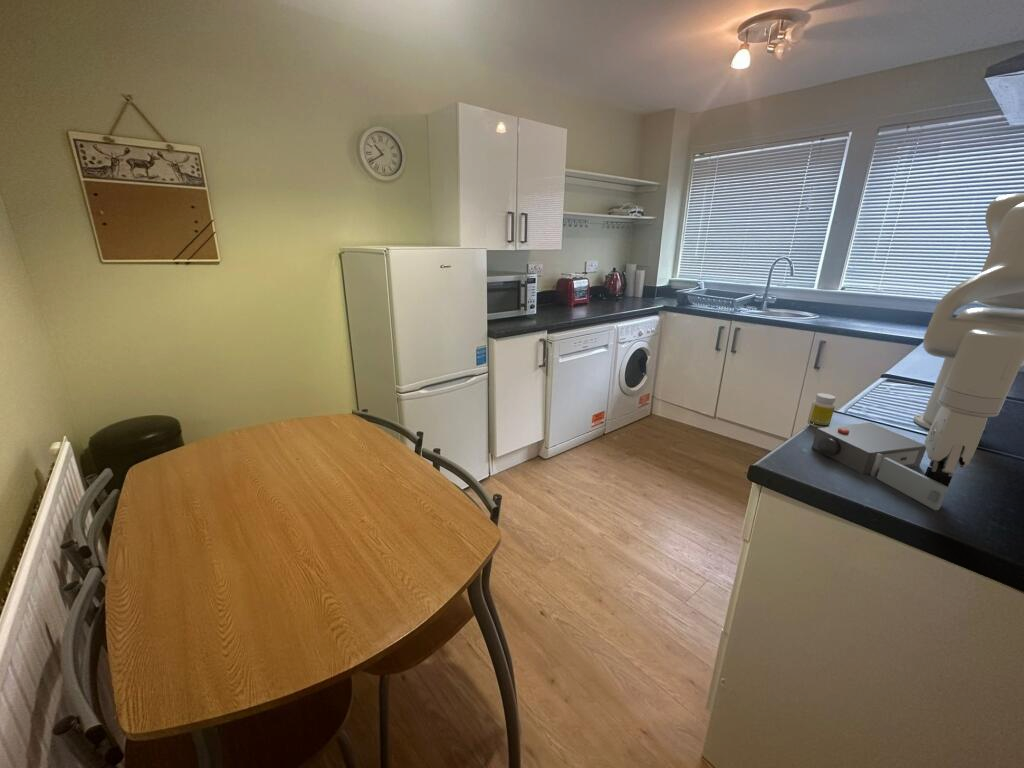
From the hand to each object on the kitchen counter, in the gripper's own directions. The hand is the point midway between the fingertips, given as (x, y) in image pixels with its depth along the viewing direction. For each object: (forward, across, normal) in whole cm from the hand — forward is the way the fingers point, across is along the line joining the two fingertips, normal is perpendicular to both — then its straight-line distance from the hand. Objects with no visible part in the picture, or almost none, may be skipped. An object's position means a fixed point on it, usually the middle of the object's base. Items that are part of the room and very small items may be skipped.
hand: (932, 488), depth 79 cm
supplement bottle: (+3, -26, -20) cm, 33 cm away
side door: (+2, +1, -4) cm, 4 cm away
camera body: (+2, -12, -10) cm, 16 cm away
